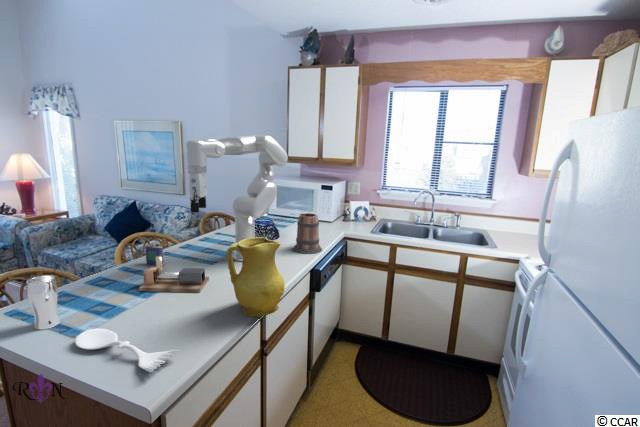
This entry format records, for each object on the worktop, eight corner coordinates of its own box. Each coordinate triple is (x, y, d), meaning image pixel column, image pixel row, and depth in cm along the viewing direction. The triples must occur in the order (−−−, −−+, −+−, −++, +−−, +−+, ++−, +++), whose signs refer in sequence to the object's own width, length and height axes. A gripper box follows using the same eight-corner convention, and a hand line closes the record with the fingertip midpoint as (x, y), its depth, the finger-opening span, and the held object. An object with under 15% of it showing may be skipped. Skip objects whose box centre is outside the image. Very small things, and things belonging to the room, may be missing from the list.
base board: (209, 279, 138) (208, 276, 138) (200, 292, 126) (199, 288, 126) (153, 279, 137) (153, 275, 137) (139, 291, 125) (138, 287, 125)
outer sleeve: (205, 279, 134) (204, 268, 133) (201, 284, 129) (200, 273, 128) (184, 279, 134) (183, 268, 133) (179, 284, 129) (178, 272, 128)
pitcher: (262, 325, 104) (260, 249, 100) (222, 311, 114) (219, 241, 110) (294, 305, 118) (294, 238, 115) (256, 294, 128) (254, 232, 125)
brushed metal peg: (188, 278, 133) (187, 256, 131) (185, 281, 130) (184, 258, 128) (151, 277, 132) (149, 255, 130) (147, 280, 129) (146, 257, 127)
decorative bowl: (285, 236, 209) (286, 214, 206) (264, 243, 193) (264, 219, 190) (262, 231, 220) (262, 210, 217) (240, 237, 203) (240, 214, 200)
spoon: (152, 381, 79) (151, 369, 78) (67, 347, 91) (66, 336, 90) (180, 360, 87) (180, 348, 87) (99, 331, 99) (98, 321, 98)
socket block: (158, 279, 133) (158, 267, 132) (153, 284, 129) (152, 272, 128) (150, 279, 133) (149, 267, 132) (144, 284, 128) (143, 272, 127)
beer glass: (43, 318, 104) (37, 274, 101) (66, 318, 105) (61, 274, 102) (26, 331, 97) (18, 284, 94) (51, 330, 98) (44, 284, 95)
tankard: (316, 256, 173) (317, 219, 169) (287, 251, 178) (288, 216, 174) (329, 244, 195) (330, 211, 191) (303, 240, 200) (304, 208, 196)
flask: (165, 264, 153) (163, 242, 151) (160, 266, 151) (159, 244, 149) (149, 262, 156) (147, 240, 154) (144, 264, 153) (142, 242, 151)
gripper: (199, 172, 129) (201, 214, 133) (212, 169, 146) (213, 206, 150) (180, 171, 129) (182, 213, 132) (195, 168, 146) (196, 206, 149)
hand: (198, 209), depth 141 cm, fingers open, 9 cm apart
